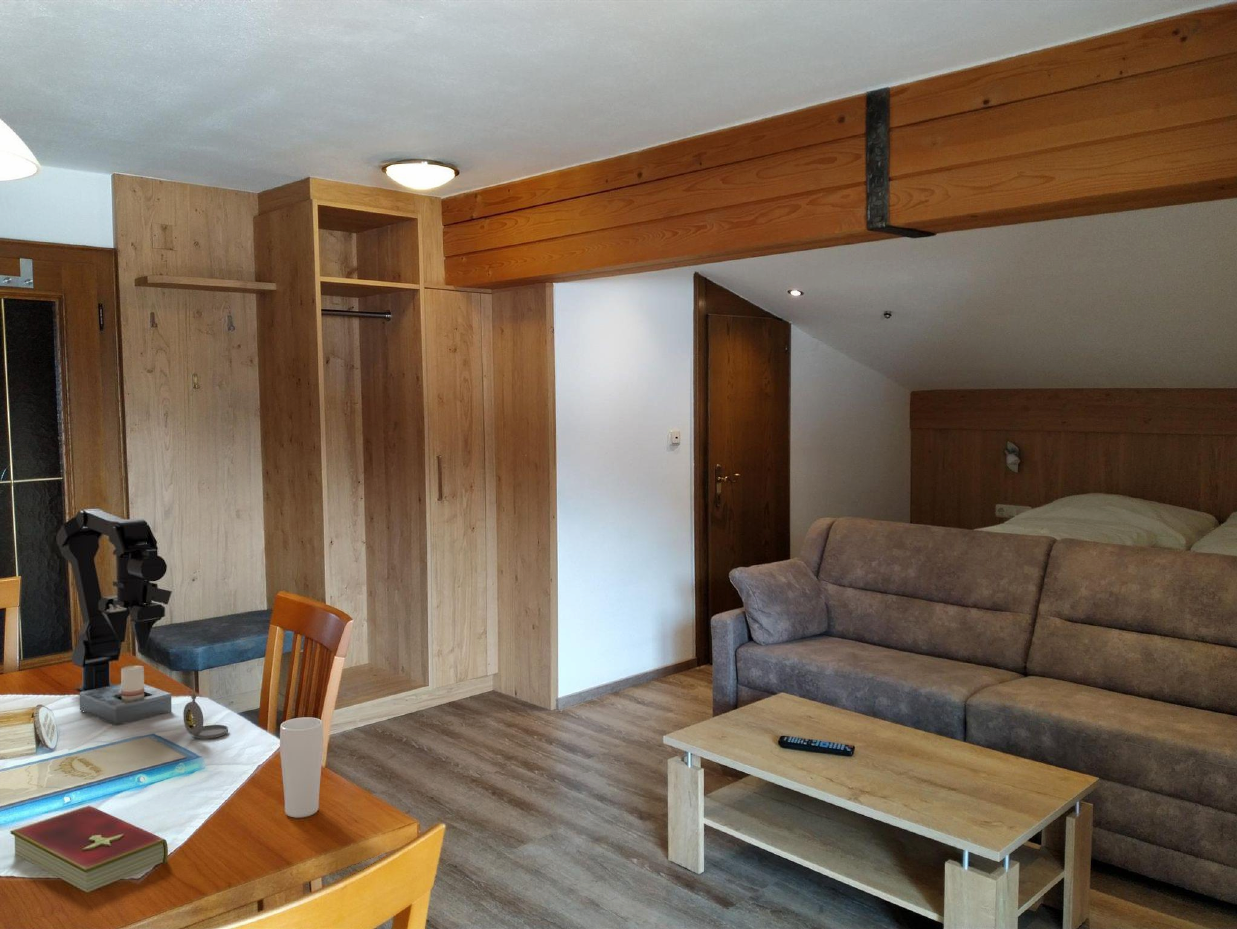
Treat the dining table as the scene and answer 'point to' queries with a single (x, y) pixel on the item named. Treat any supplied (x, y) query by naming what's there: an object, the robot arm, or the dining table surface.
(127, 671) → the coin roll
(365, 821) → the dining table surface
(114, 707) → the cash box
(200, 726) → the pocket watch
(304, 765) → the drinking glass
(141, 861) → the hardcover book
